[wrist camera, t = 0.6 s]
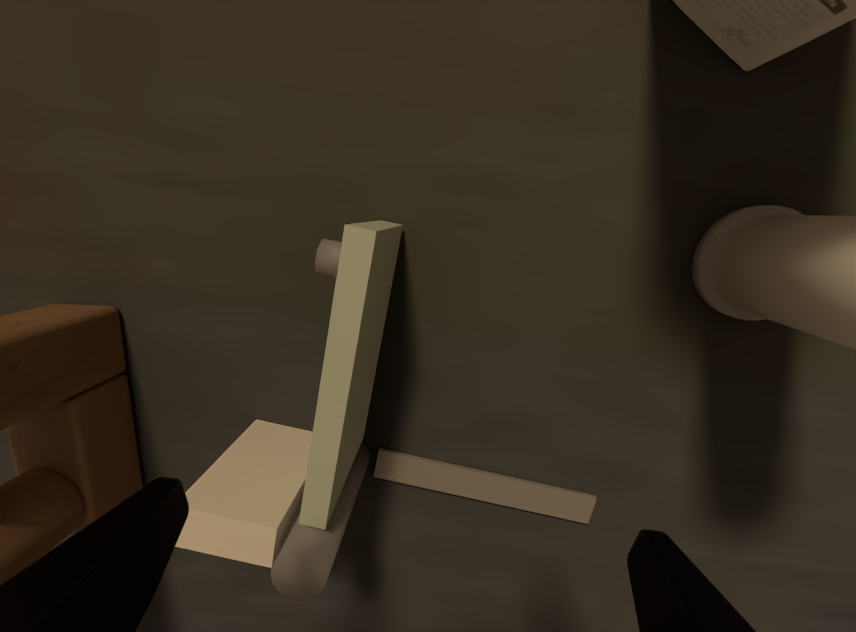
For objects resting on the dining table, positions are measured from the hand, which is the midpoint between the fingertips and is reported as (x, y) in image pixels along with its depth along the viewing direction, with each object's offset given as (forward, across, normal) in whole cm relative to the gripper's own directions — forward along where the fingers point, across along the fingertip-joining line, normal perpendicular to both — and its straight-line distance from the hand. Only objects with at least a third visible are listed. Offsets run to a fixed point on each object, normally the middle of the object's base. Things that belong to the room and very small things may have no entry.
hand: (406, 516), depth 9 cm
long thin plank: (+11, 0, +11) cm, 15 cm away
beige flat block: (+12, +4, +4) cm, 14 cm away
